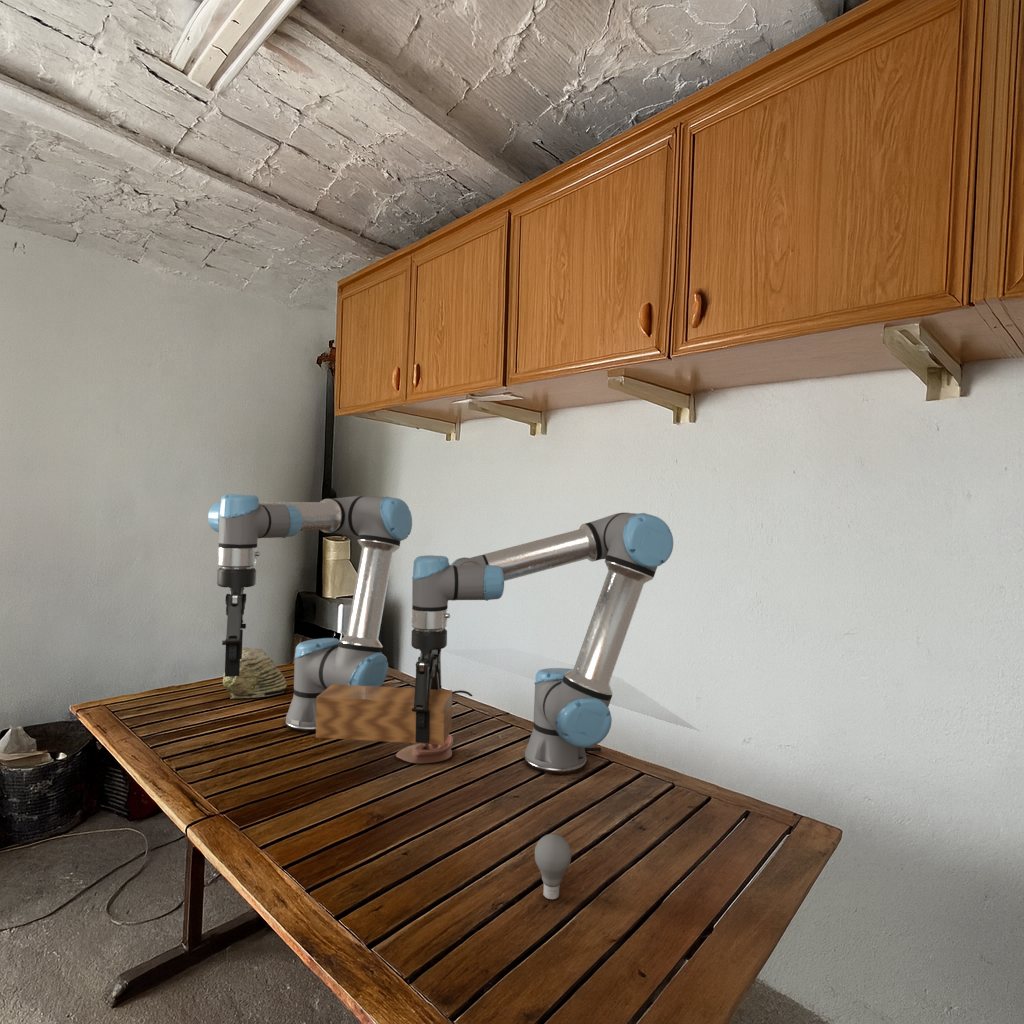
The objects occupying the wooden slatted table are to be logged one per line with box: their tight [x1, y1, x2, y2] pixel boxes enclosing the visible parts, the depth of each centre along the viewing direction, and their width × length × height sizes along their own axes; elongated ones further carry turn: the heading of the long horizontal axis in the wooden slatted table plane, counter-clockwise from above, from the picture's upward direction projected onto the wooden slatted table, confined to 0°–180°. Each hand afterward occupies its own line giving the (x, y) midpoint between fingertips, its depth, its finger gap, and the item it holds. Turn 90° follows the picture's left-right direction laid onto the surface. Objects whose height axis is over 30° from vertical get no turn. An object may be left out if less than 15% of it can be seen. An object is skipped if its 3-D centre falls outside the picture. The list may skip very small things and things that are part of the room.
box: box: [315, 684, 453, 745], centre depth 136 cm, size 27×9×9 cm, turn 85°
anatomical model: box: [395, 734, 454, 764], centre depth 157 cm, size 13×4×12 cm
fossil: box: [222, 646, 288, 699], centre depth 198 cm, size 9×18×15 cm, turn 132°
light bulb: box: [534, 833, 573, 900], centre depth 103 cm, size 6×6×10 cm
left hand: (233, 667), depth 134 cm, fingers open, 13 cm apart
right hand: (427, 733), depth 135 cm, fingers closed on box, 9 cm apart
